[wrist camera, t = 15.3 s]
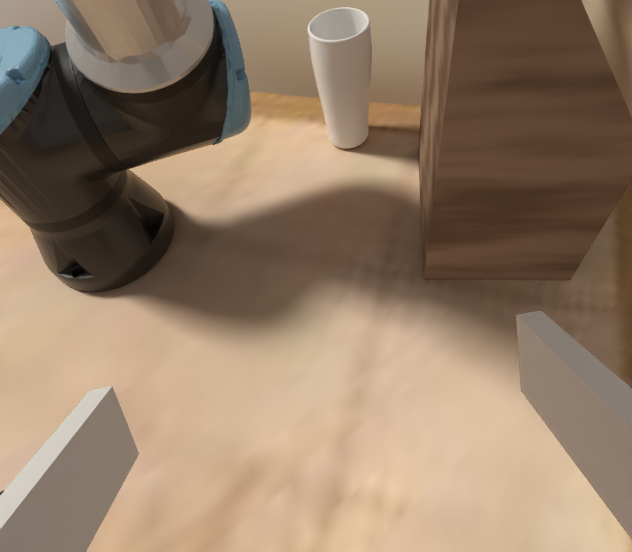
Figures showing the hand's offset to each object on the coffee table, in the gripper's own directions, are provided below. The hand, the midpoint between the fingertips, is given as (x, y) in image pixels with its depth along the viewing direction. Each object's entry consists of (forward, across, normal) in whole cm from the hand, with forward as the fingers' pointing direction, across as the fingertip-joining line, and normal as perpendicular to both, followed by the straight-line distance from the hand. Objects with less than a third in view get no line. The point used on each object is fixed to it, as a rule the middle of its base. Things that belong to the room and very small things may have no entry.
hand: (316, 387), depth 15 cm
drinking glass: (+51, +5, +5) cm, 51 cm away
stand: (+38, +18, -5) cm, 43 cm away
